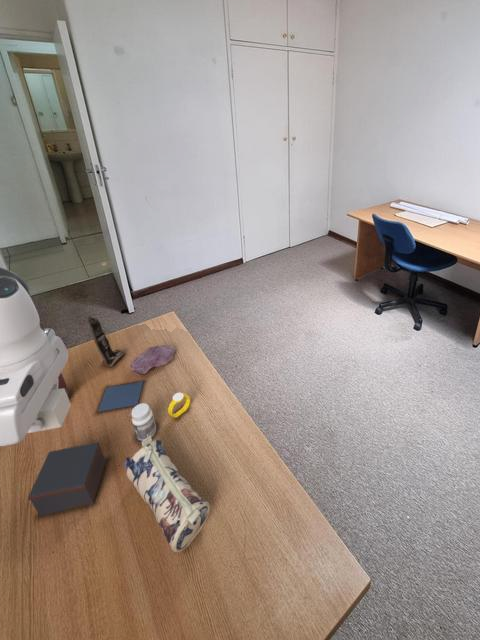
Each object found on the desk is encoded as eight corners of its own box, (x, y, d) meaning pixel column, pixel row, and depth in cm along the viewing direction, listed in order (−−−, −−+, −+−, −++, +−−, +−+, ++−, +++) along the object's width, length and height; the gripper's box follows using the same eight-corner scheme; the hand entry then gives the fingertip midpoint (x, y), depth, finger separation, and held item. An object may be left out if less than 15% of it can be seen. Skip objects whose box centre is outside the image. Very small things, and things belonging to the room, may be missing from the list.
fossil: (126, 370, 102) (123, 358, 100) (168, 346, 112) (165, 333, 110) (139, 384, 97) (136, 371, 95) (181, 356, 107) (179, 344, 105)
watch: (174, 423, 86) (170, 407, 83) (168, 417, 87) (164, 402, 85) (193, 407, 90) (190, 392, 88) (187, 402, 92) (184, 386, 89)
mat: (98, 412, 89) (97, 411, 89) (106, 388, 96) (106, 387, 96) (137, 405, 91) (137, 404, 91) (143, 382, 98) (143, 381, 98)
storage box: (39, 516, 67) (27, 497, 64) (58, 470, 75) (48, 451, 72) (93, 504, 69) (84, 484, 66) (106, 460, 77) (99, 441, 74)
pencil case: (127, 482, 73) (117, 455, 69) (163, 453, 79) (156, 426, 75) (179, 568, 60) (171, 540, 56) (218, 526, 66) (212, 498, 62)
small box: (25, 433, 62) (16, 415, 60) (38, 410, 66) (30, 393, 64) (61, 427, 63) (53, 409, 61) (71, 405, 68) (64, 388, 65)
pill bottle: (136, 427, 85) (129, 405, 81) (156, 421, 86) (150, 398, 83) (136, 444, 81) (129, 421, 77) (156, 437, 82) (150, 414, 79)
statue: (127, 354, 108) (112, 305, 100) (111, 370, 102) (94, 319, 93) (116, 352, 109) (101, 303, 100) (99, 368, 103) (82, 317, 94)
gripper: (32, 325, 67) (52, 374, 73) (-38, 413, 49) (-3, 469, 54) (66, 321, 68) (84, 370, 74) (10, 405, 50) (39, 461, 56)
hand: (46, 413), depth 64 cm, fingers closed on small box, 5 cm apart
